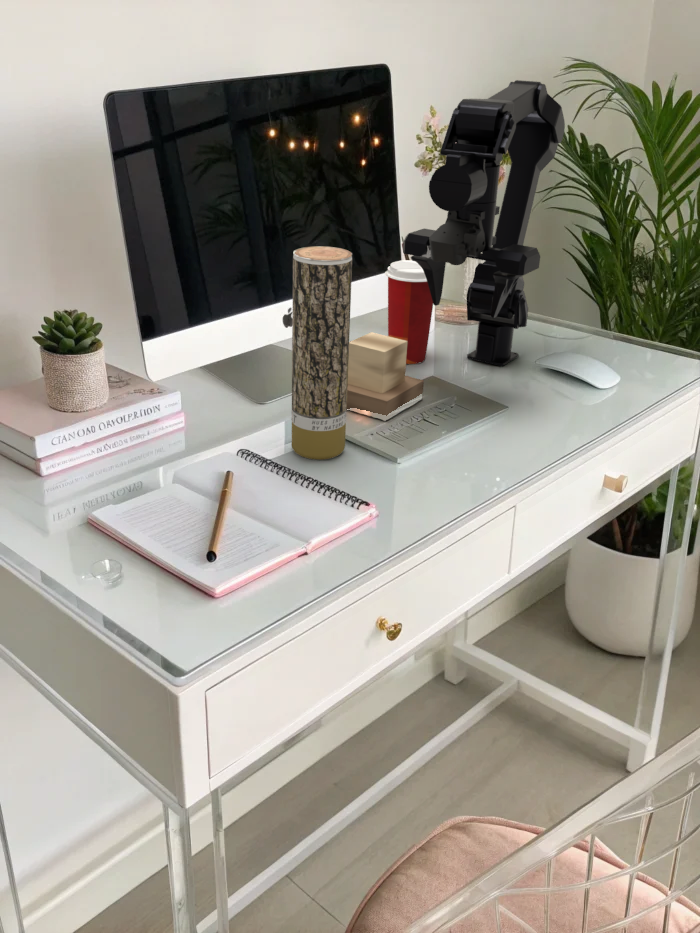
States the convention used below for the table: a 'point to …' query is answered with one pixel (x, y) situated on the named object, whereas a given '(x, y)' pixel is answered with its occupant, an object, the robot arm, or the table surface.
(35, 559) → the table surface
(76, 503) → the table surface
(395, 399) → the walnut base
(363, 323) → the table surface
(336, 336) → the paper tube
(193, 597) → the table surface
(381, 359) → the oak cube
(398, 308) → the coffee cup
